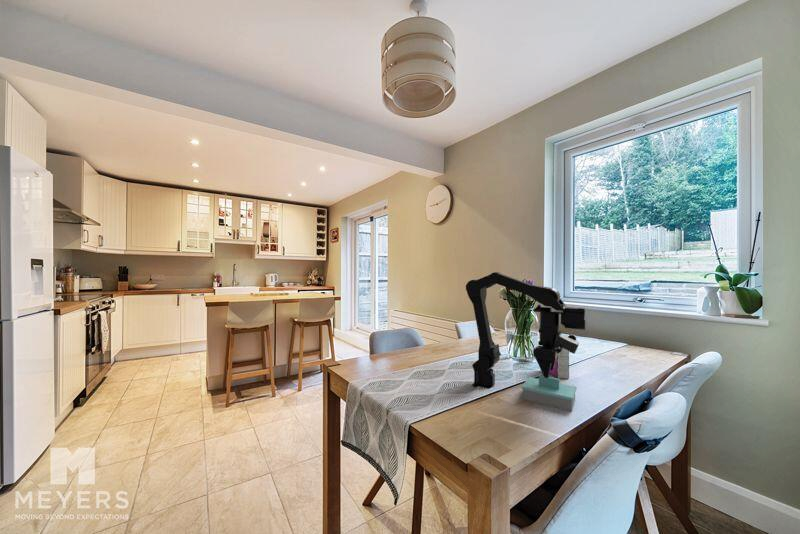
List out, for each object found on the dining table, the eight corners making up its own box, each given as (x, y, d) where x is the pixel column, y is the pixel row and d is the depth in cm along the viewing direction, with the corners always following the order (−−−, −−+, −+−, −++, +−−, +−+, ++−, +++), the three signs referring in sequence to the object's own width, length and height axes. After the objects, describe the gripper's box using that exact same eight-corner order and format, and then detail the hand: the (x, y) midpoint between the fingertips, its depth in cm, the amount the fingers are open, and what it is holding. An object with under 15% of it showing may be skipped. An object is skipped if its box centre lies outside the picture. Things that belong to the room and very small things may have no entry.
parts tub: (522, 400, 98) (522, 388, 98) (529, 390, 106) (529, 379, 106) (571, 413, 89) (571, 400, 89) (575, 401, 97) (575, 389, 98)
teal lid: (521, 391, 97) (521, 377, 97) (529, 381, 106) (529, 368, 106) (572, 403, 89) (572, 388, 89) (576, 391, 98) (576, 377, 98)
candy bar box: (543, 369, 129) (544, 331, 129) (555, 369, 129) (555, 331, 129) (556, 378, 118) (557, 337, 118) (569, 379, 117) (569, 337, 118)
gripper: (574, 334, 85) (574, 388, 85) (580, 324, 101) (579, 370, 101) (533, 329, 92) (532, 380, 92) (544, 321, 107) (543, 364, 107)
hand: (548, 373), depth 98 cm, fingers open, 9 cm apart
